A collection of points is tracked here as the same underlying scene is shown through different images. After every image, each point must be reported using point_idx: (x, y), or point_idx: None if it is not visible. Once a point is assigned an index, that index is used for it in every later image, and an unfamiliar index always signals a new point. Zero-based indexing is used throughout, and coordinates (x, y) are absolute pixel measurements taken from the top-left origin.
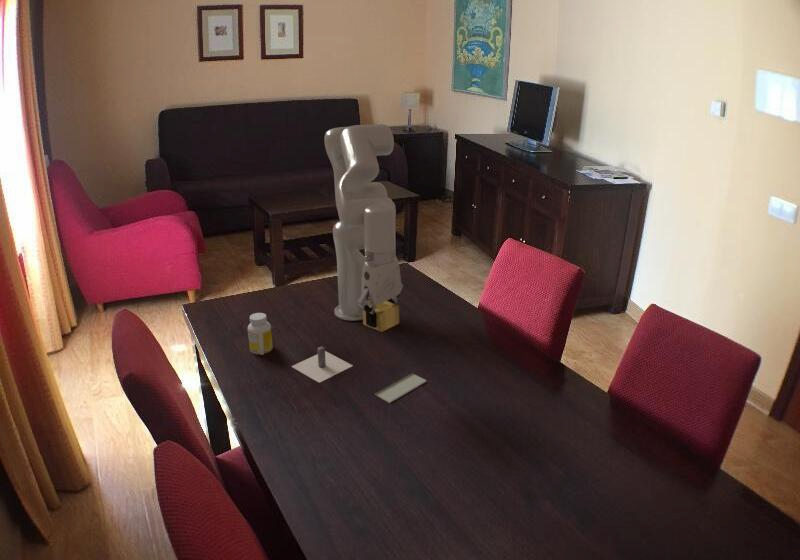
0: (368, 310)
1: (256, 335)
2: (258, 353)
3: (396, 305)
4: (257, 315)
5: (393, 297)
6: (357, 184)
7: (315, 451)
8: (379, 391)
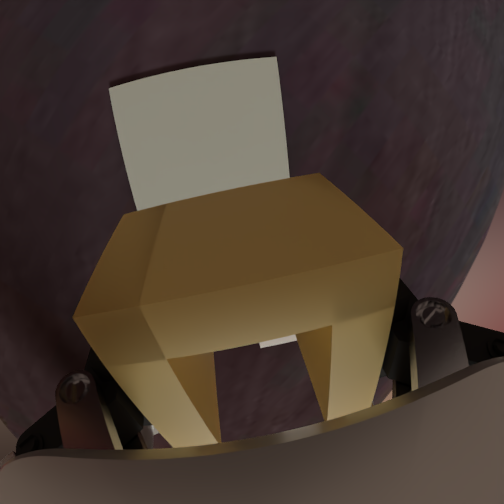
0: (472, 331)
1: (373, 405)
2: None
3: (99, 333)
4: None
5: (102, 439)
6: None
7: (478, 64)
8: (264, 117)
